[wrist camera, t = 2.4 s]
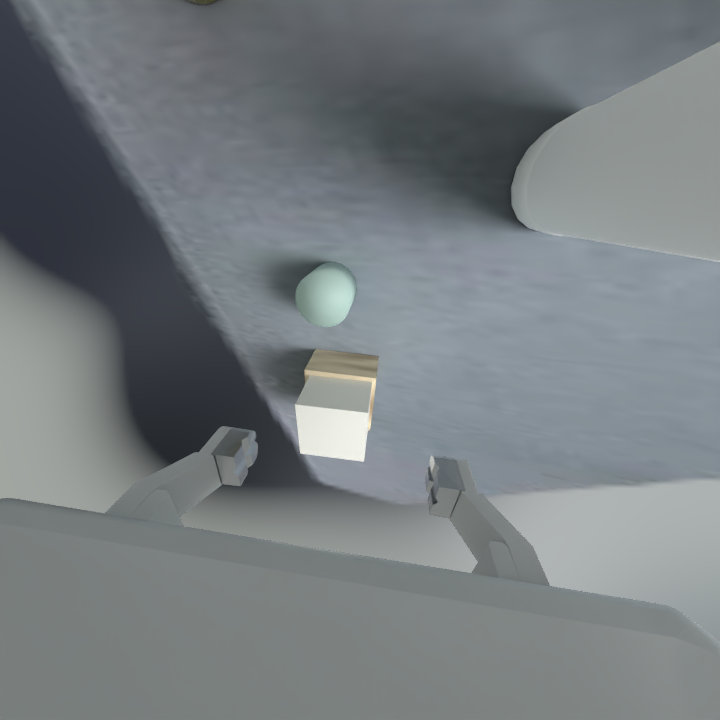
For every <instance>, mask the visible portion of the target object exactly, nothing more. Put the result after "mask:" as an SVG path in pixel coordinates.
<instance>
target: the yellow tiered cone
mask: <svg viewBox="0 0 720 720" xmlns="http://www.w3.org/2000/svg"><path fill="white" fill-rule="evenodd" d="M188 1H190V2H193V3H197V4H209V3H212V2H215V1H217V0H188Z"/></svg>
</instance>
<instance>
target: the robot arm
mask: <svg viewBox="0 0 720 720" xmlns="http://www.w3.org/2000/svg"><path fill="white" fill-rule="evenodd" d="M255 438H256V433H255V431H250V430H244V429H238V428H231V427H225V426H222V427H221V428H219V429H218V430H217V432H216V433H215V434H214V435H213V436H212V437H211V439H210V440H209V441H208V442H207V443H206V445H205V446H204V447H203V448H202V449H201V450H200V452H199V453H193V454H191V455H189V456H187V457H185V458H183V459H182V460H180V461H178V462H176V463H174V464H172V465H170V466H168V467H166V468H164V469H162V470H160V471H158V472H156V473H154V474H152V475H151V476H148V477H147V478H145V479H143V480H141V481H139V482H137V483H135V484H133V485H132V486H131V487H130V488H129V490H127V491H126V493H124V494H123V495H122V496H121V497H120V499H119V500H117V501H116V503H114V505H112V506H111V507H110V509H109V510H108V511H107V512H105V513H98V512H92V511H86V510H80V509H74V508H68V507H62V506H56V505H50V504H44V503H37V502H32V501H26V500H20V499H13V498H2V499H0V720H720V642H719V641H718V640H717V639H715V638H714V637H713V636H712V635H710V634H709V633H708V632H707V631H705V630H704V629H703V628H702V627H701V626H699V625H698V624H697V623H695V622H694V621H693V620H691V619H690V618H689V617H687V616H686V615H685V614H683V613H682V612H680V611H678V610H676V609H674V608H672V607H669V606H666V605H661V604H656V603H650V602H644V601H638V600H632V599H626V598H620V597H613V596H607V595H601V594H595V593H588V592H583V591H577V590H570V589H564V588H558V587H552V586H550V585H549V582H548V580H547V578H546V576H545V573H544V571H543V569H542V566H541V564H540V562H539V560H538V557H537V555H536V553H535V551H534V548H533V546H532V545H531V544H530V543H529V542H528V541H527V540H526V539H525V538H524V537H523V536H522V535H521V534H520V533H519V532H518V531H517V530H516V529H515V528H514V527H513V525H512V524H511V523H509V522H508V520H507V519H506V518H505V517H504V516H503V515H502V514H501V513H500V512H499V511H498V510H497V509H496V508H495V507H494V506H493V505H492V504H491V503H490V502H489V501H488V500H487V499H486V498H485V497H484V495H483V494H479V493H478V490H477V487H476V484H475V481H474V478H473V475H472V472H471V469H470V466H469V463H468V461H467V460H464V459H456V458H455V459H454V458H449V457H441V456H433V455H432V456H431V458H430V467H428V468H427V472H426V490H427V492H428V493H429V497H428V506H429V513H430V515H434V516H440V517H445V518H450V521H451V522H452V523H453V525H454V527H455V528H456V530H457V531H458V533H459V534H460V536H461V537H462V539H463V540H464V542H465V543H466V544H467V546H468V548H469V549H470V551H471V552H472V554H473V555H474V557H475V558H476V560H477V561H478V563H477V565H476V567H475V568H474V570H473V571H472V573H466V572H460V571H453V570H448V569H442V568H435V567H429V566H423V565H417V564H411V563H405V562H399V561H392V560H386V559H380V558H374V557H368V556H362V555H356V554H350V553H344V552H337V551H331V550H325V549H319V548H313V547H307V546H300V545H294V544H288V543H282V542H276V541H270V540H264V539H257V538H251V537H245V536H239V535H233V534H227V533H221V532H214V531H209V530H202V529H196V528H190V527H184V525H183V523H182V521H181V519H180V516H182V515H183V514H184V513H186V512H187V511H188V510H189V509H191V508H192V507H193V506H195V505H196V504H197V503H199V502H200V501H201V500H203V499H204V498H205V497H206V496H208V495H209V494H210V493H212V492H213V491H214V490H216V489H217V488H218V487H219V486H221V484H227V485H236V486H240V485H241V484H242V482H243V480H244V479H245V477H246V475H247V474H248V472H247V468H248V467H250V466H251V465H253V463H254V461H255V460H256V456H257V453H258V445H257V443H256V442H255V441H254V440H255Z"/></svg>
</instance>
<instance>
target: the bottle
mask: <svg viewBox="0 0 720 720" xmlns="http://www.w3.org/2000/svg"><path fill="white" fill-rule="evenodd" d="M511 204H512V208H513V210H514V212H515V214H516V217H517V219H518V220H519V221H520V222H522V223H523V224H524V225H525V226H526V227H528V228H529V229H533V230H535V231H538V232H542V233H546V234H550V235H555V236H570V237H576V238H581V239H587V240H593V241H599V242H605V243H611V244H616V245H622V246H628V247H634V248H640V249H646V250H652V251H657V252H663V253H669V254H675V255H681V256H687V257H693V258H698V259H704V260H710V261H716V262H720V42H718V43H716V44H714V45H712V46H710V47H708V48H706V49H704V50H702V51H700V52H698V53H696V54H694V55H692V56H690V57H688V58H686V59H684V60H682V61H680V62H678V63H676V64H674V65H672V66H670V67H668V68H666V69H664V70H662V71H660V72H658V73H657V74H655V75H653V76H651V77H649V78H647V79H645V80H643V81H641V82H639V83H637V84H635V85H633V86H631V87H629V88H627V89H625V90H623V91H621V92H619V93H617V94H615V95H613V96H611V97H609V98H607V99H605V100H603V101H601V102H599V103H597V104H595V105H591V106H588V107H586V108H584V109H582V110H580V111H578V112H576V113H575V114H573V115H571V116H569V117H568V118H566V119H564V120H562V121H561V122H559V123H557V124H556V125H554V126H553V127H552V128H550V129H548V130H547V131H545V132H544V133H543V134H542V135H541V136H540V137H539V138H538V139H537V140H536V141H535V142H534V143H533V144H532V145H531V146H530V147H529V148H528V149H527V151H526V153H525V155H524V156H523V158H522V160H521V161H520V163H519V165H518V166H517V168H516V172H515V175H514V179H513V182H512V186H511Z"/></svg>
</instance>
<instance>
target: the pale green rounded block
mask: <svg viewBox="0 0 720 720" xmlns="http://www.w3.org/2000/svg"><path fill="white" fill-rule="evenodd" d="M356 291H357V285H356V280H355V278H354V276H353V274H352V273H351V271H350V270H349V269H348V268H346V267H345V266H343V265H342V264H339V263H335V262H328V263H324V264H322V265H320V266H318V267H317V268H316V269H315V270H313V271H312V272H311V273H310V274H308V275H307V276H306V277H305V278H303V279H302V280H301V281H300V283H299V284H298V286H297V289H296V294H295V300H296V305H297V308H298V310H299V312H300V313H301V315H302V316H303V317H304V318H305V319H306V320H307V321H309V322H310V323H312V324H314V325H317V326H320V327H331V326H335V325H337V324H339V323H340V322H342V321H343V320H344V318H345V317H346V316H347V314H348V312H349V309H350V307H351V305H352V302H353V300H354V298H355V295H356Z"/></svg>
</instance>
